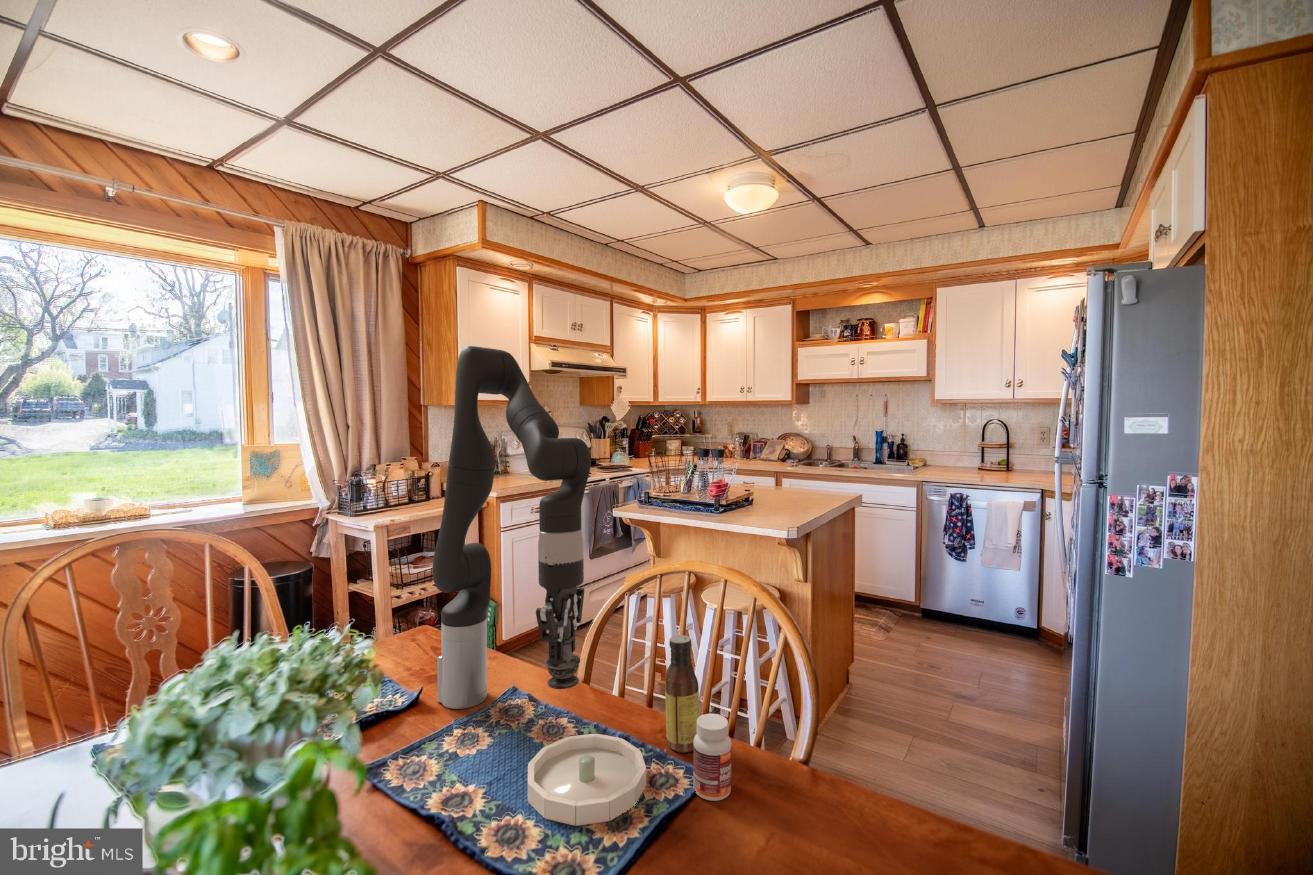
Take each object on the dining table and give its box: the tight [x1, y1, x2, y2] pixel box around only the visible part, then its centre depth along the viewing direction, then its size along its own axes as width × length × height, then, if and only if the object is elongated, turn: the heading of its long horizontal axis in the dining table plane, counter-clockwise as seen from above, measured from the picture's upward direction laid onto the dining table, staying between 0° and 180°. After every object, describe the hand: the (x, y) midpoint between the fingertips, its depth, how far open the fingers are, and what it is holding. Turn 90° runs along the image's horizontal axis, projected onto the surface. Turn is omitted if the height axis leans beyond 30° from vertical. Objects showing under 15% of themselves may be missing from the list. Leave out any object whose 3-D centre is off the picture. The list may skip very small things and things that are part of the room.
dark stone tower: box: [544, 617, 581, 690], centre depth 96 cm, size 6×6×12 cm
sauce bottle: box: [664, 634, 700, 753], centre depth 105 cm, size 7×6×20 cm
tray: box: [527, 733, 647, 827], centre depth 94 cm, size 19×19×4 cm
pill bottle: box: [692, 713, 732, 802], centre depth 93 cm, size 6×6×11 cm
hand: (562, 656), depth 96 cm, fingers closed on dark stone tower, 4 cm apart
